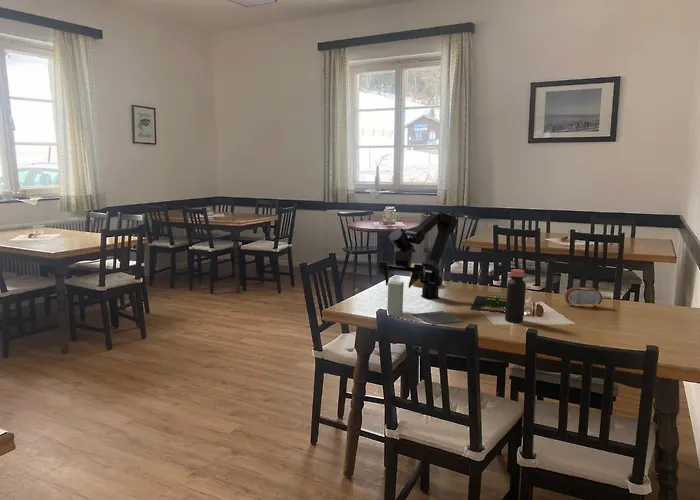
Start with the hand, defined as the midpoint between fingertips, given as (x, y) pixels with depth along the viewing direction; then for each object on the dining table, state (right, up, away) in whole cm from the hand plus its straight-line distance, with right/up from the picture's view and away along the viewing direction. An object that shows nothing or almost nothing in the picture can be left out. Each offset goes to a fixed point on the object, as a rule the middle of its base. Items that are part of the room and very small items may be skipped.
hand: (397, 286), depth 214 cm
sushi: (+47, -10, +16) cm, 51 cm away
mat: (+15, -12, -5) cm, 20 cm away
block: (-1, -11, -2) cm, 11 cm away
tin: (+82, -10, +18) cm, 85 cm away
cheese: (+17, -3, +54) cm, 57 cm away
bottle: (+45, -13, -6) cm, 47 cm away
